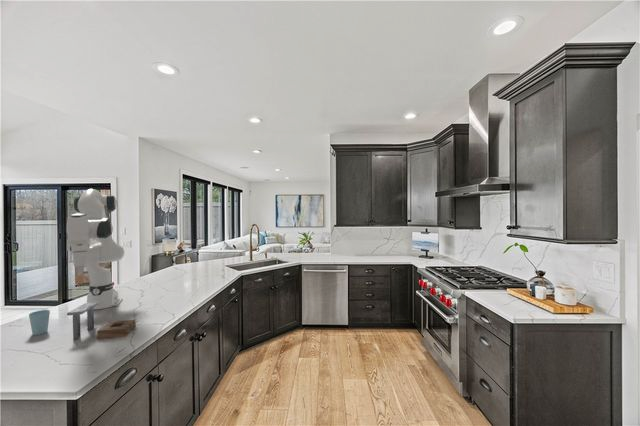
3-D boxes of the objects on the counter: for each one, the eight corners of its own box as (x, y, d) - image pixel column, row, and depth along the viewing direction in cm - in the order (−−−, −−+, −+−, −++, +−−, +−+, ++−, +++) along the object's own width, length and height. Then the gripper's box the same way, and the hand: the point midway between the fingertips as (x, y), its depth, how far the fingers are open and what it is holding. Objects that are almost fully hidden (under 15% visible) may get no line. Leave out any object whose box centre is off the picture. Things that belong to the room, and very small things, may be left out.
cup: (30, 337, 143) (30, 316, 143) (28, 333, 148) (27, 312, 148) (51, 332, 149) (51, 311, 149) (48, 328, 154) (48, 308, 154)
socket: (109, 329, 152) (109, 321, 152) (135, 327, 154) (135, 319, 154) (97, 339, 140) (97, 330, 140) (125, 336, 142) (125, 328, 142)
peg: (74, 284, 145) (74, 263, 146) (83, 282, 148) (83, 262, 148) (75, 285, 143) (74, 264, 143) (84, 283, 145) (83, 263, 145)
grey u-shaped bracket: (85, 328, 153) (85, 303, 153) (99, 327, 155) (98, 302, 154) (67, 340, 139) (67, 312, 139) (82, 339, 140) (81, 311, 140)
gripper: (69, 245, 151) (69, 272, 151) (71, 248, 136) (72, 278, 136) (84, 244, 155) (85, 270, 155) (89, 247, 140) (89, 276, 140)
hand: (79, 274), depth 145 cm, fingers closed on peg, 3 cm apart
